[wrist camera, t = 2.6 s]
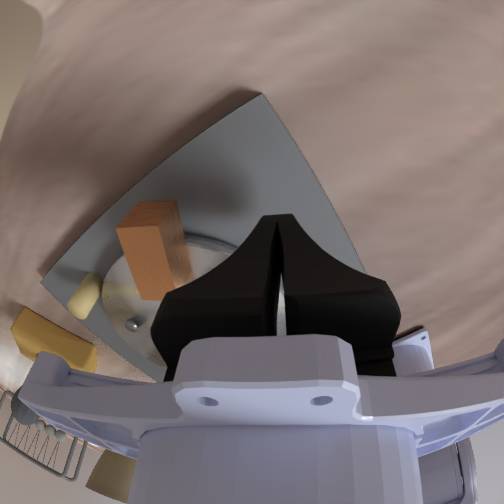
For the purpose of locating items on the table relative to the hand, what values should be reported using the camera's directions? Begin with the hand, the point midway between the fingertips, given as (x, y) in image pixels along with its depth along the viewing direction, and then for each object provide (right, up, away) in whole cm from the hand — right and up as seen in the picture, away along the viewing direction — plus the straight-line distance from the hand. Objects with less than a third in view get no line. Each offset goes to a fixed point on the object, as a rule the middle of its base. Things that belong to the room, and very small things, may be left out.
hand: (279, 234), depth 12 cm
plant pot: (-24, -38, +32) cm, 55 cm away
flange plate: (-5, -4, +6) cm, 9 cm away
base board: (-5, -4, +8) cm, 10 cm away
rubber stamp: (-23, -10, +14) cm, 29 cm away
